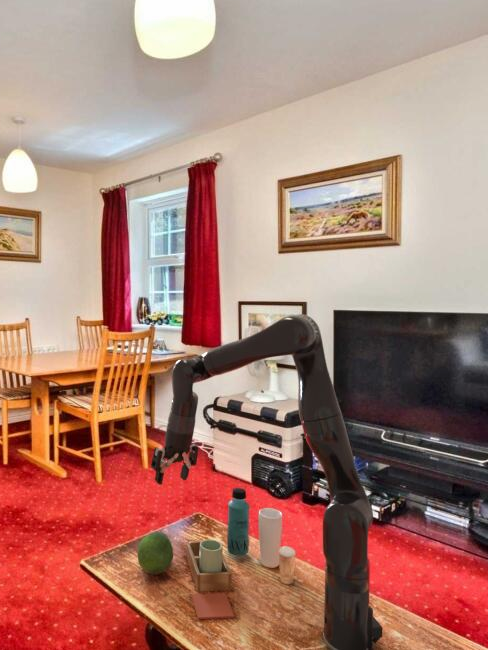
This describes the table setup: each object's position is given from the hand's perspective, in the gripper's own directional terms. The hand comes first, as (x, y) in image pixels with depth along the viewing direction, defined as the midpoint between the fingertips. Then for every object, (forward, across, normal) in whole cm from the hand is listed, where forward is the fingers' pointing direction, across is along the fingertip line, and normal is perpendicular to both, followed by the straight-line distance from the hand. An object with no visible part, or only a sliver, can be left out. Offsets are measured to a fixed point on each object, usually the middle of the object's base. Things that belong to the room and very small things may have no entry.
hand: (171, 481), depth 139 cm
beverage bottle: (+23, +23, -9) cm, 33 cm away
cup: (+22, +7, -15) cm, 28 cm away
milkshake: (+20, +25, -26) cm, 41 cm away
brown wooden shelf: (+23, +9, -11) cm, 27 cm away
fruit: (+26, -2, -2) cm, 26 cm away
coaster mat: (+21, 0, -24) cm, 32 cm away
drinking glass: (+21, +27, -17) cm, 39 cm away
